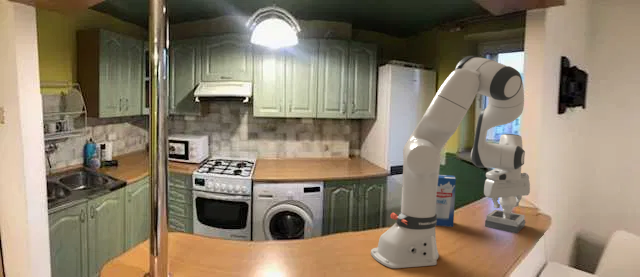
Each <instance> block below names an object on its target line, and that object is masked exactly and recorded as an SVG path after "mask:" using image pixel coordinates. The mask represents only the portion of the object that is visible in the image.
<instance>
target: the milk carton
mask: <svg viewBox="0 0 640 277" xmlns="http://www.w3.org/2000/svg"><path fill="white" fill-rule="evenodd" d="M456 180H457V178H456V176H455V175H452V174H451V175H449V174H448V175H447V174H439V177H438V185H437V193H436V214H437V225H436V226H439V227H447V228H448V227H451V228H452V227H454V222H455V220H454V218H455V202H456V200H455V199H456V182H457V181H456Z"/></svg>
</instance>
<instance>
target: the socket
mask: <svg viewBox="0 0 640 277" xmlns="http://www.w3.org/2000/svg"><path fill="white" fill-rule="evenodd" d="M484 221H485V222H484V227H487V228H490V229H491V228H492V229H495V230H498V231H504V232H508V233H513V234H518V233H519V232H520V231H522V229H523V228H524V227H525V226H526V219H525V214H521V213H515V212H511V214H510V219H505V218H503V210H500V209H494V210H492V211H491V212H489V214H487V215H486V218H485V220H484Z"/></svg>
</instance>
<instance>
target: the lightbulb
mask: <svg viewBox="0 0 640 277" xmlns="http://www.w3.org/2000/svg"><path fill="white" fill-rule="evenodd" d="M498 201H499V202H498V203H499V204H500V207H501V209H502V211H503V218H505V219H510V214H511V213H513V209H514V208H515V206H516V204H517V200H516V197H515V196H511V197H501V198H498ZM516 207H517V206H516Z"/></svg>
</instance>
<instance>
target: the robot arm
mask: <svg viewBox="0 0 640 277" xmlns="http://www.w3.org/2000/svg"><path fill="white" fill-rule="evenodd" d="M478 94H479V95H481V96H484V97H488V98H487V99H488V104H487V106H486V107H485V108H484V109H481V111H480V112H479V115H478V119H477V122H476V127H475V134H474V141H473V145H472V149H471V152H470V160H471V162H472V164H473V165H474V166H475V167H477V168H483V169H484V168H485V169H486V168H490V169H492V170H489V171H487V172H486V173H485V177H486V179H485V180H484V186H483V194H484V196H485V197H486V198H489V199H491V201H492V202H493V209H500V208H501V205H500V203H499V202H498V201H499V199H500V198H501V197H511V196H515V198H516V200H517V204H516V206H515V207H519V204H520V201H521V200H522V199H523V198H522V197H523V196H528V195H529V194H530V192H531V191H530V190H531V186H530V185H531V184H530V180H529V179H530V176H529V174H528V173H527V172H522V166H523V165H524V164H525V156H526V155H525V154H526V151H525V150H524V149H523V138H522V136H521V135H519V134H513V133H504V134H501V135H500V138H499V143H493V142H488V141H487V135H488V131H489V130H491V129H492V128H495V127H498V126H503V125H507V124H510V123H512V122H514V121H516V120H517V119H518V118H519V117H520V116H521V115H522V113H523V110H524V105H525V90H524V83H523V79H522V75H521V73H520V72H519V71H518V70H517V69H515V68H514V67H512V66H510V65H509V66H508V65H505V64H503V63H501V62H498V61H496V60H493V59H489V58H484V57H480V56H478V55H467V56H464V57H463V58H462V59H461V60H460V61H459V62H457V64H456V66H455V69H454V70H452V72H451V73H450V74H449V75H448V76H447V78H446V79H445V80H444V81H443V83H441V86H440V87H439V89H437V92H436V93H435V95H434V97H433V99H432V100H431V102H430V104H429V105H428V107H427V109H426V110H425V112H424V114H423V116H422V117H421V119H420V120H419V122H418V123H417V125H416V126H415V128H414V130H413V131H412V133H411V134H410V136H409V138H408V140H407V142H405V144H404V146H403V148H402V151H403V152H402V155H403V156H402V157H403V160H402V161H403V165H402V183H401V184H402V185H401V208H400V211H399V214H398V213H395V212H392V213H391V214H390V218H391V219H392V220H394V221H395V223H394V224H393V225H392V226H390V227H389V228H388V229H387V230H386V231H385V232H384V233H382V234H381V235H380V236H379V240H378V244H377V247H374V248H371V250H370V254H371V256H372V258H373V259H374V260H376V262H378V263H380V264H382V265H383V266H386V267H388V268H390V269H401V268H403V269H406V268H414V267H415V268H417V267H427V266H436V265H437V264H438V261H437V260H438V259H439V257H440V254H439V251H438V248H437V247H438V246H437V238H436V226H437V214H436V193H437V185H438V177H439V175H440V167H441V165H440V164H441V154H440V152H441V151H442V149H443V148H444V147H445V145H446V144H447V142H448V141H449V140H450V138H452V136H453V135H454V134H455V132H456V131H457V129H458V128H459V126H460V125H461V122H462V121H463V119H464V118H465V116H466V114H467V113H468V111H469V109H470V107H471V105H473V102H474V100H475V98H476V95H478ZM515 207H514V208H515Z"/></svg>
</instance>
